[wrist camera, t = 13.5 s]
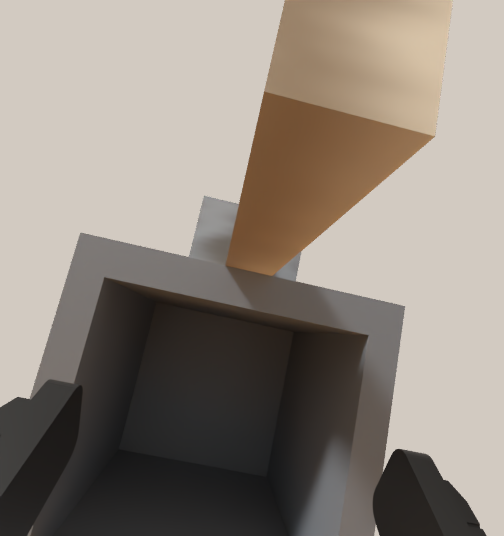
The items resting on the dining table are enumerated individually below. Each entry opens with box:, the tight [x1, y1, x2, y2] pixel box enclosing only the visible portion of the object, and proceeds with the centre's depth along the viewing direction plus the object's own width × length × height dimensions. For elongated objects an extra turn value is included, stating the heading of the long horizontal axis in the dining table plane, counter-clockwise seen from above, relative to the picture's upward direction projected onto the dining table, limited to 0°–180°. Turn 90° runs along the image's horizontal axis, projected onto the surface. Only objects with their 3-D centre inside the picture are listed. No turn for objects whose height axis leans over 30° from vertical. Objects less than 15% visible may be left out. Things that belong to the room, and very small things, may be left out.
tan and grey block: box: [189, 0, 453, 281], centre depth 20 cm, size 8×28×6 cm, turn 6°
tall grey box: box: [27, 233, 405, 536], centre depth 27 cm, size 18×20×32 cm
